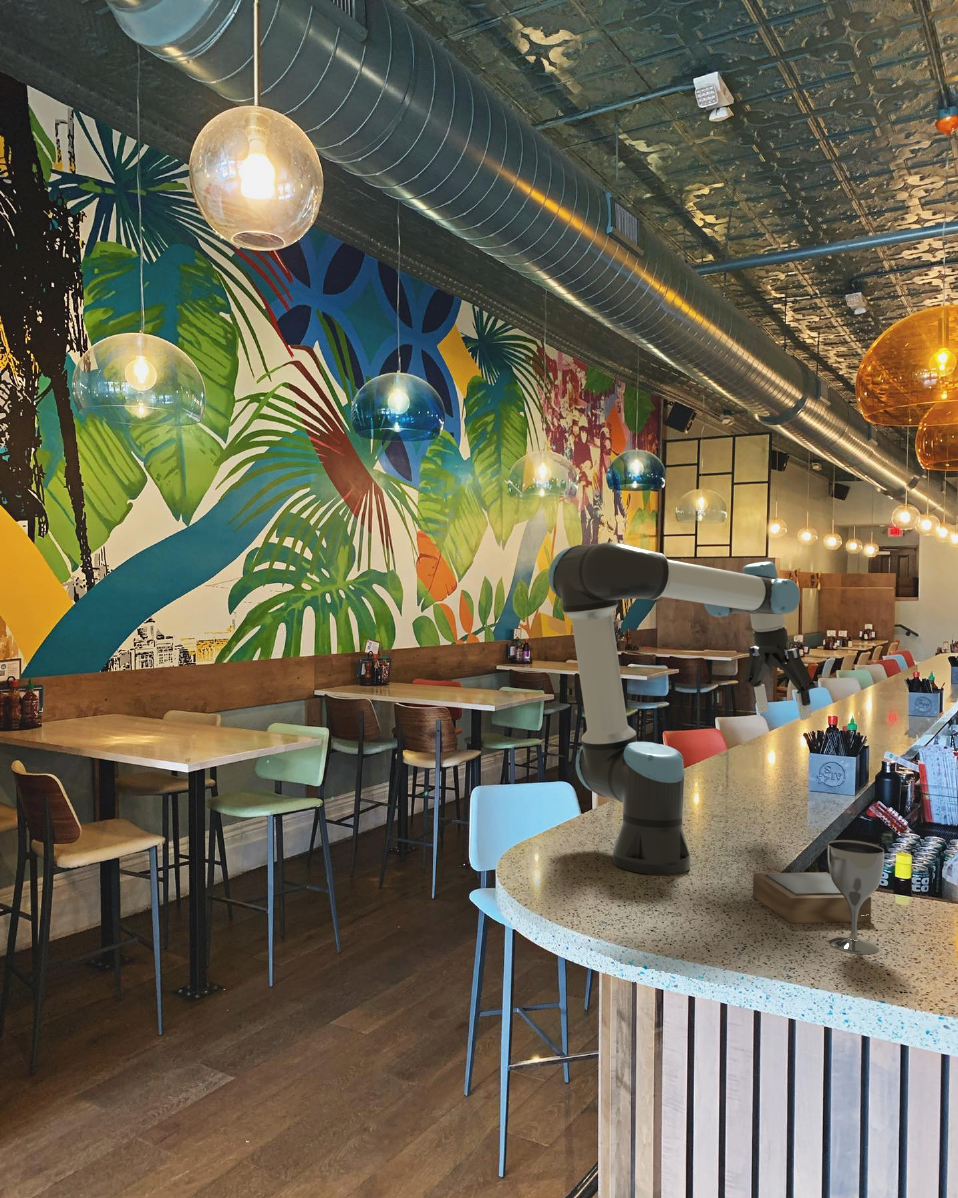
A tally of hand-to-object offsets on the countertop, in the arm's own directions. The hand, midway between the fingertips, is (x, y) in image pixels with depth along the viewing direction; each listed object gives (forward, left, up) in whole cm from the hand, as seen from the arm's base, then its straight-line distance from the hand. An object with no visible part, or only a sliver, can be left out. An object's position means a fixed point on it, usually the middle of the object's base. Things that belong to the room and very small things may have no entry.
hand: (784, 715), depth 211 cm
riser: (-22, -55, -27) cm, 65 cm away
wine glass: (-24, -72, -27) cm, 81 cm away
